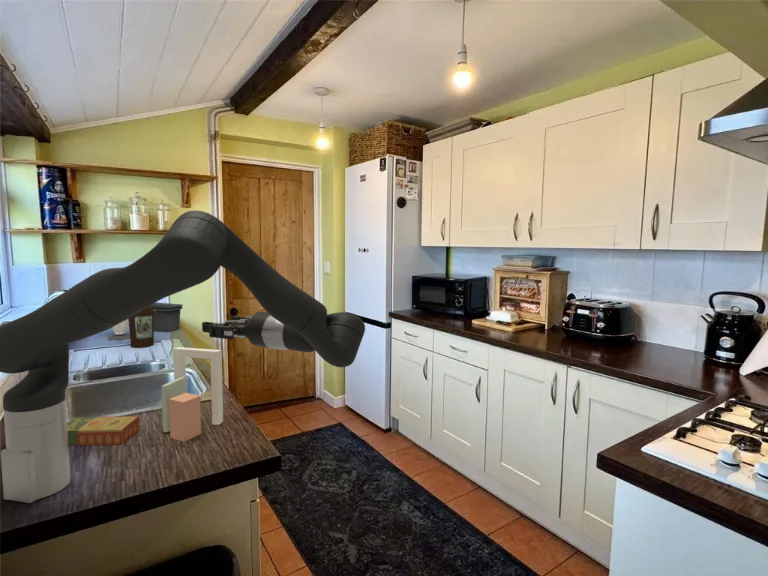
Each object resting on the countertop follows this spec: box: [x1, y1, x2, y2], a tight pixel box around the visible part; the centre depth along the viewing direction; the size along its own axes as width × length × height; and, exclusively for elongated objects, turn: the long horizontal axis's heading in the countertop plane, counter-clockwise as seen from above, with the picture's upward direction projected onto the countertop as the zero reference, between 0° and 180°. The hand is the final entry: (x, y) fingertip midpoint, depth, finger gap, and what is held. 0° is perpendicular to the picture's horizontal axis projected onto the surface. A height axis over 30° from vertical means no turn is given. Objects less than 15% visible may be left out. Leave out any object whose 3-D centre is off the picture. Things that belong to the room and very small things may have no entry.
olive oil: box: [128, 306, 155, 349], centre depth 196 cm, size 11×11×25 cm
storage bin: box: [151, 302, 184, 333], centre depth 232 cm, size 21×16×14 cm
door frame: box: [172, 346, 224, 426], centre depth 114 cm, size 2×13×20 cm, turn 79°
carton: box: [67, 415, 141, 446], centre depth 104 cm, size 8×16×4 cm, turn 94°
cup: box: [106, 319, 130, 341], centre depth 211 cm, size 12×12×22 cm
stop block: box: [169, 392, 202, 443], centre depth 106 cm, size 5×5×10 cm
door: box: [161, 376, 188, 433], centre depth 110 cm, size 1×8×12 cm, turn 169°
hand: (218, 323), depth 96 cm, fingers open, 8 cm apart
